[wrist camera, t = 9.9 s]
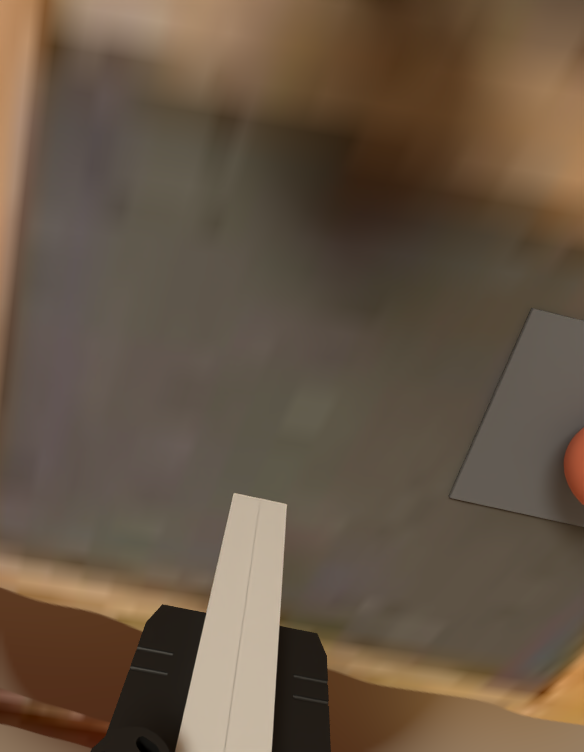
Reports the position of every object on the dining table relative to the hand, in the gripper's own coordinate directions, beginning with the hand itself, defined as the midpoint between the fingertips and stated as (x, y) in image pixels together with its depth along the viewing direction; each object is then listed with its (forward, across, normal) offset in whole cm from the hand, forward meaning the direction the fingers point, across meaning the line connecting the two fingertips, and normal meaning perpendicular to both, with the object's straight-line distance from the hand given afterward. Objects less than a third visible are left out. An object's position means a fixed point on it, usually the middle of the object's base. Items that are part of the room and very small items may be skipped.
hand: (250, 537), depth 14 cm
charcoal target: (+14, +18, 0) cm, 23 cm away
